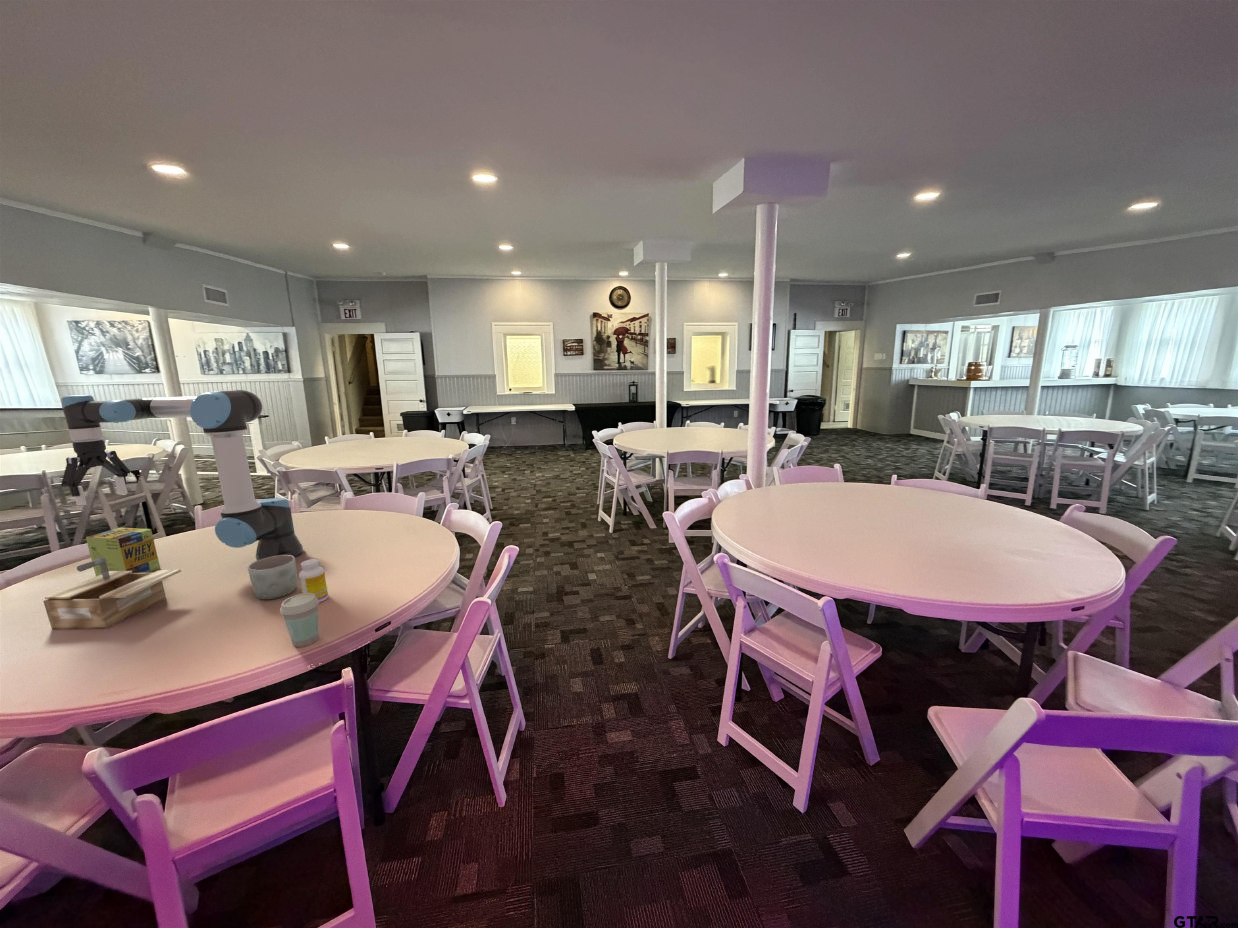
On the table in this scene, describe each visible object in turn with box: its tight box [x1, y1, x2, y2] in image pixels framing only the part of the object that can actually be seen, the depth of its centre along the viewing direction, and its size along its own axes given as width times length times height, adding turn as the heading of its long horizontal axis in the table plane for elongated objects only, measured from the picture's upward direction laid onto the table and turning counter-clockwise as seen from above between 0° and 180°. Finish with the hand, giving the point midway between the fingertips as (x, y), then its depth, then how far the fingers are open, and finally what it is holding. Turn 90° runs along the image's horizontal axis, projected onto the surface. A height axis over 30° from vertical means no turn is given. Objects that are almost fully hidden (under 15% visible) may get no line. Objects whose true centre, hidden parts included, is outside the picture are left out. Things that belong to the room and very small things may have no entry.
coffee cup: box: [279, 593, 320, 648], centre depth 126 cm, size 8×8×12 cm
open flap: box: [44, 557, 132, 600], centre depth 142 cm, size 7×17×7 cm, turn 179°
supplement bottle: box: [298, 558, 329, 604], centre depth 148 cm, size 7×7×13 cm
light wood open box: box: [43, 569, 182, 631], centre depth 144 cm, size 23×18×10 cm
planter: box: [247, 555, 298, 600], centre depth 154 cm, size 12×12×11 cm
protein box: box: [85, 527, 161, 577], centre depth 173 cm, size 10×15×16 cm
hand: (103, 499), depth 168 cm, fingers open, 13 cm apart
